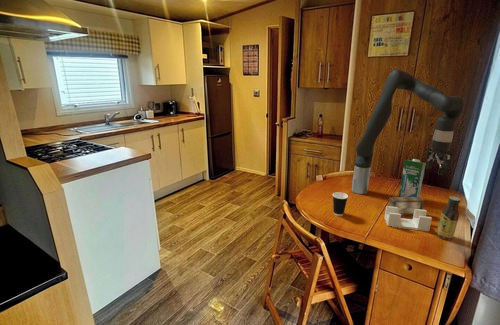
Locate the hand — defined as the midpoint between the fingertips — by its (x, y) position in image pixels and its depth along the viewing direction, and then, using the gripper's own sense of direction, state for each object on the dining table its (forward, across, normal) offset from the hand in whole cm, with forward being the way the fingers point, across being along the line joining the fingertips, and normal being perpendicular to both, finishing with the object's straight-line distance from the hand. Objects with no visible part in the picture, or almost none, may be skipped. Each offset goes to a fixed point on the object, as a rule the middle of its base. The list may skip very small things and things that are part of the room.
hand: (434, 171), depth 132 cm
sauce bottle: (+26, -18, +1) cm, 31 cm away
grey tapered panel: (+26, +4, +8) cm, 28 cm away
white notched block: (+26, -6, +12) cm, 29 cm away
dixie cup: (+27, +5, +43) cm, 51 cm away
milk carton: (+26, +22, -4) cm, 35 cm away
